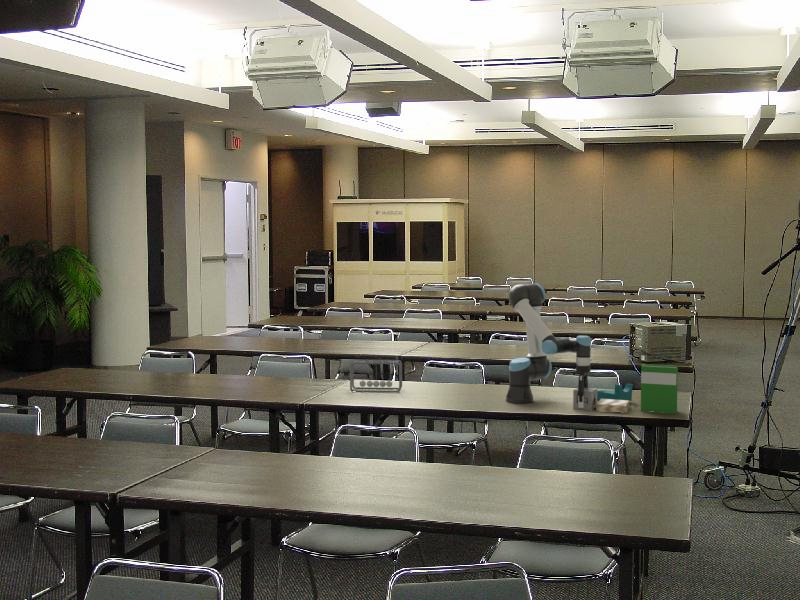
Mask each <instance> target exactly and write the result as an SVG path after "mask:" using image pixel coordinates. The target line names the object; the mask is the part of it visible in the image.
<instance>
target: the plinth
mask: <svg viewBox="0 0 800 600" xmlns="http://www.w3.org/2000/svg"><path fill="white" fill-rule="evenodd" d="M630 402H631V401H629V400H614V399H600V401H597V407H596V408H595V410H596V412H599V413H613V412H623V413H622V414H626V413H627V412H628V411H629V409H630V405H631V404H630ZM627 410H628V411H627ZM626 411H627V412H626Z"/></svg>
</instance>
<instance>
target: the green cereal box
mask: <svg viewBox="0 0 800 600" xmlns="http://www.w3.org/2000/svg"><path fill="white" fill-rule="evenodd" d="M640 367H641V374H640V412H641V411H654V412H653V413H655V412H664V413H663V414H669V413H677V412H678V384H679V383H678V380H679V379H678V378H679V377H678V376H679V366H678V365H670V364H669V365H667V364H651V363H650V364H646V363H642V365H641V366H640ZM676 411H677V412H676Z"/></svg>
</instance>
